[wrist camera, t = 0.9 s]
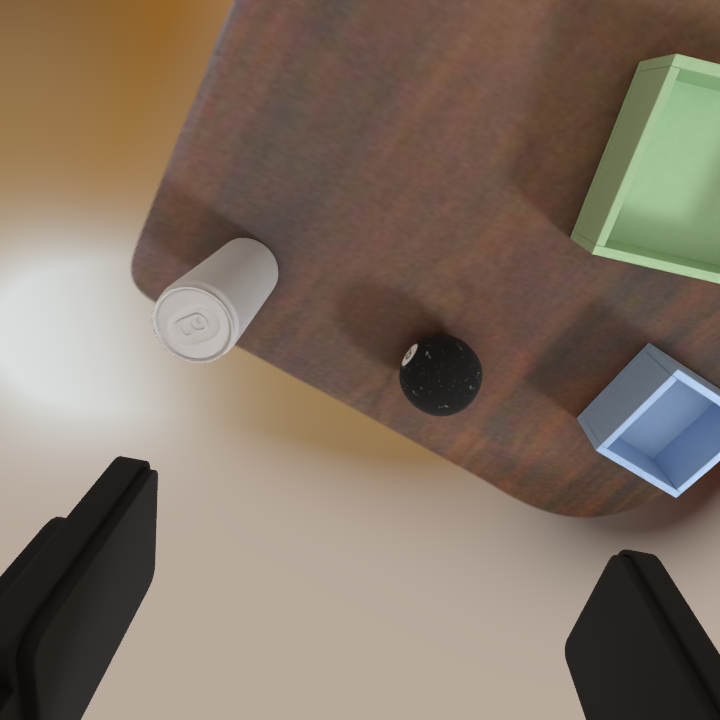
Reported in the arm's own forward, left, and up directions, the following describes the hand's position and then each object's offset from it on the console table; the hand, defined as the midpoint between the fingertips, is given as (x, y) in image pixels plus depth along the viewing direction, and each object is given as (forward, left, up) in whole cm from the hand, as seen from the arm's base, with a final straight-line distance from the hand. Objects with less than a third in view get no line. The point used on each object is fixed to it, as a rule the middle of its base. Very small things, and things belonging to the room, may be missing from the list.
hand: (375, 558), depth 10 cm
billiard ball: (+8, +6, -30) cm, 32 cm away
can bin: (+8, +24, -30) cm, 39 cm away
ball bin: (-9, +19, -30) cm, 36 cm away
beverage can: (+4, -10, -30) cm, 32 cm away
